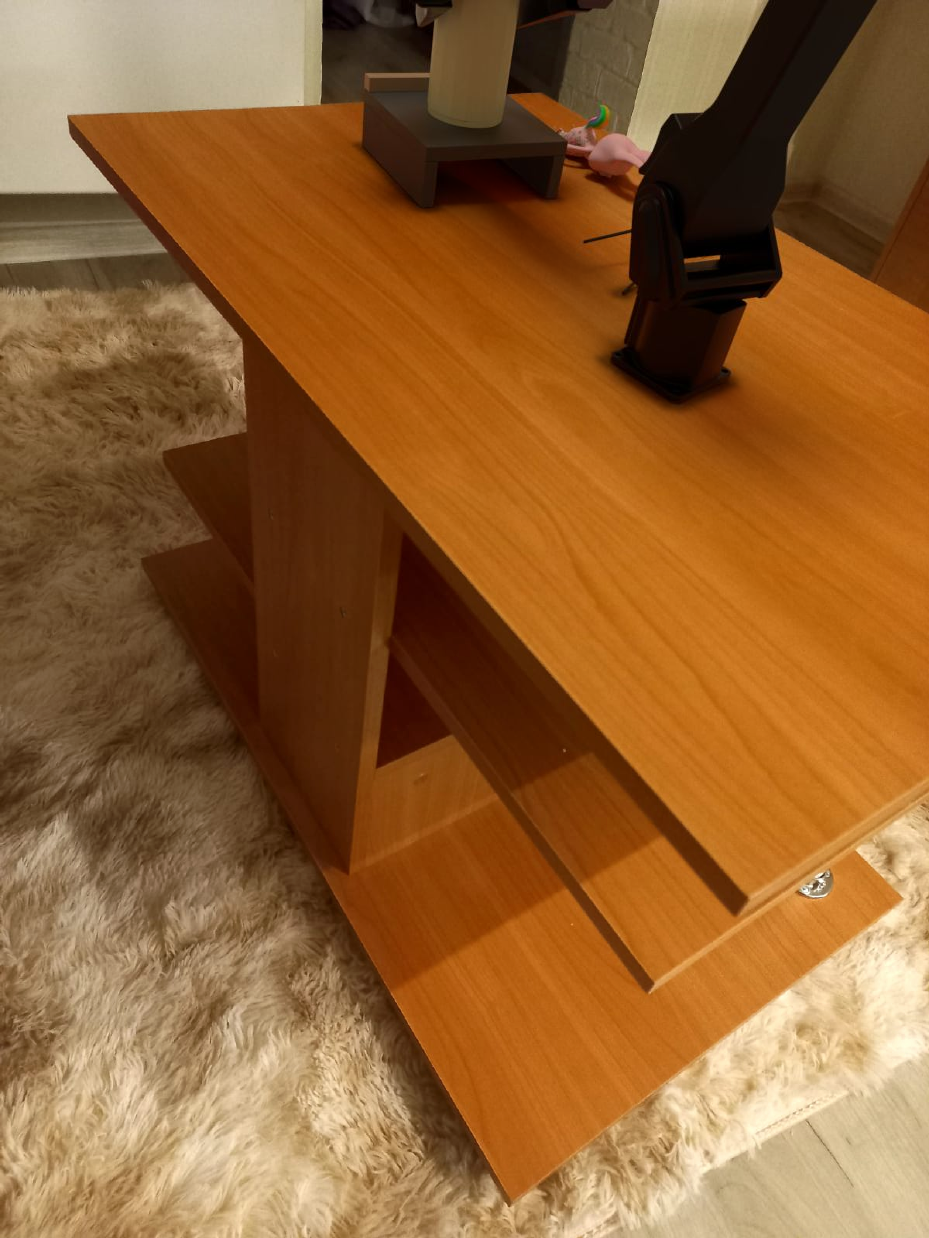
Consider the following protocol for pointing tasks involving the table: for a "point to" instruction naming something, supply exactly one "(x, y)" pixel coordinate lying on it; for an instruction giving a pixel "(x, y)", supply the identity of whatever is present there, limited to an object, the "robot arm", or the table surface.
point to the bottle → (472, 62)
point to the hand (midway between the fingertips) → (467, 22)
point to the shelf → (451, 138)
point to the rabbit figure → (604, 147)
